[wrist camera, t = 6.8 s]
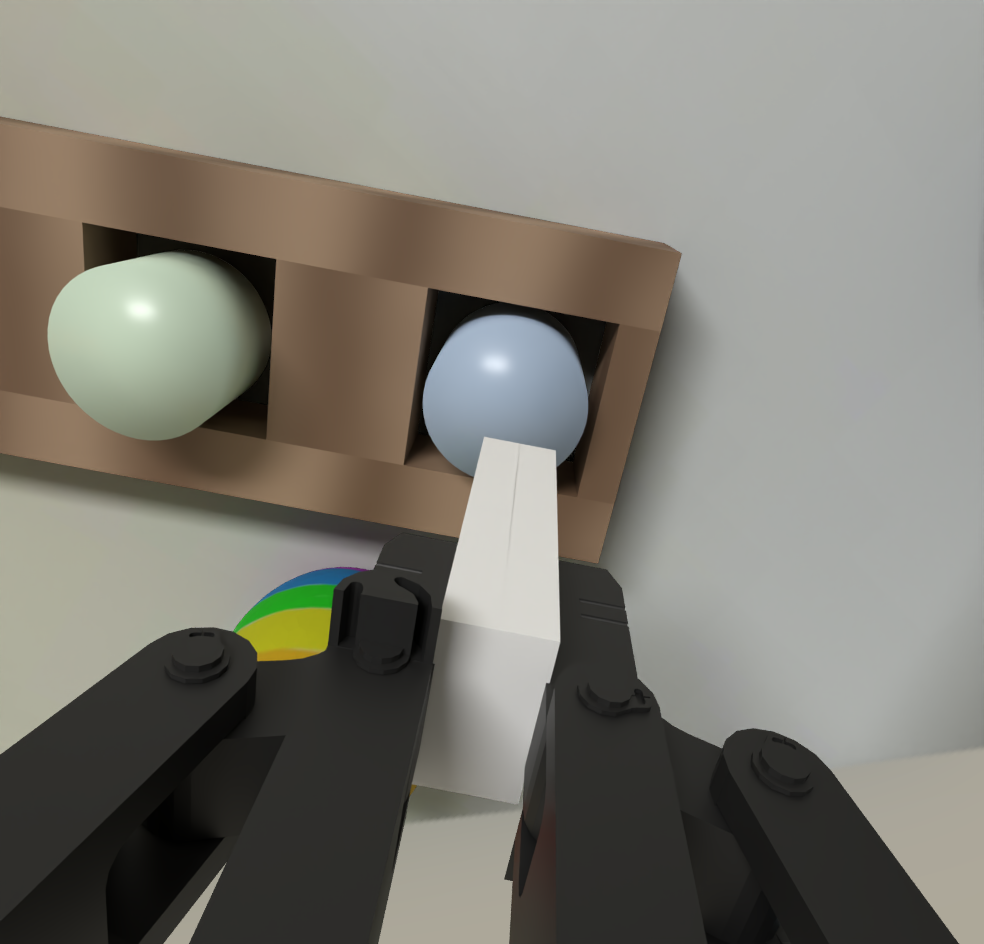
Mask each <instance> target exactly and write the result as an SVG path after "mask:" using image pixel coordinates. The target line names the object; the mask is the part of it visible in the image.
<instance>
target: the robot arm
mask: <svg viewBox="0 0 984 944" xmlns="http://www.w3.org/2000/svg"><path fill="white" fill-rule="evenodd" d="M627 624H628V621H627V615H626V611H625V604H624V598H623V592H622V588H621V587H620V585H619V584H618V583H617V582H616V580H615V579H614V578H613V577H612V575H611V574H610V573H609V572H608V570H606V569H600V568H595V567H590V566H585V565H579V564H574V563H569V562H564V561H559V560H558V522H557V480H556V450H551V449H546V448H541V447H535V446H530V445H525V444H520V443H514V442H509V441H504V440H499V439H494V438H488V437H484V439H483V443H482V448H481V452H480V456H479V460H478V464H477V468H476V472H475V476H474V480H473V484H472V488H471V492H470V496H469V500H468V504H467V508H466V512H465V516H464V520H463V524H462V529H461V533H460V537H459V541H458V543H453V542H448V541H443V540H437V539H432V538H427V537H422V536H417V535H411V534H406V533H402V534H400V535H399V536H397V537H396V538H394V539H393V540H391V541H390V542H388V543H387V544H385V545H384V547H383V549H382V551H381V554H380V556H379V558H378V561H377V564H376V565H375V567H374V570H369V571H361V572H357V573H355V574H353V575H350V576H348V577H346V578H343V579H342V580H341V582H340V583H339V584H338V585H337V586H336V587H335V588H334V590H333V600H332V610H331V619H330V629H329V638H328V646H327V648H326V650H325V651H323V652H321V653H319V654H316V655H313V656H309V657H305V658H301V659H292V660H276V661H257V652H256V650H255V649H254V647H253V646H252V644H251V643H250V641H249V640H247V639H245V638H243V637H242V636H240V635H238V634H237V633H235V632H232V631H227V630H223V629H218V628H214V627H213V628H189V629H185V630H181V631H177V632H173V633H169V634H167V635H165V636H163V637H161V638H159V639H157V640H156V641H154V642H152V643H150V644H149V645H147V646H146V647H145V648H143V649H142V650H141V651H139V652H138V653H136V654H135V655H134V656H132V657H131V658H130V659H128V660H127V661H126V662H124V663H123V664H122V665H120V666H119V667H118V668H116V669H115V670H114V671H112V672H111V673H110V674H108V675H107V676H106V677H104V678H103V679H101V680H100V681H99V682H97V683H96V684H95V685H93V686H92V687H91V688H89V689H88V690H87V691H85V692H84V693H83V694H81V695H80V696H79V697H77V698H76V699H75V700H73V701H72V702H71V703H69V704H68V705H67V706H65V707H64V708H62V709H61V710H60V711H58V712H57V713H56V714H54V715H53V716H52V717H50V718H49V719H48V720H46V721H45V722H44V723H42V724H41V725H40V726H38V727H37V728H36V729H34V730H33V731H32V732H30V733H29V734H27V735H26V736H25V737H23V738H22V739H21V740H19V741H18V742H17V743H15V744H14V745H13V746H11V747H10V748H9V749H7V750H6V751H5V752H3V753H2V754H1V755H0V944H163V943H164V942H165V941H166V939H167V938H168V937H169V936H170V934H171V933H172V932H173V930H174V929H175V928H176V927H177V925H178V924H179V923H180V921H181V920H182V919H183V918H184V916H185V915H186V914H187V912H188V911H189V910H190V908H191V907H192V906H193V905H194V903H195V902H196V901H197V900H198V898H199V897H200V895H201V894H202V893H203V892H204V891H205V889H206V888H207V887H208V885H209V884H210V883H211V882H212V880H213V879H214V878H215V876H216V875H217V874H218V873H219V871H220V870H221V869H222V867H223V866H224V865H225V863H226V862H227V863H226V865H225V867H224V870H223V872H222V874H221V876H220V878H219V880H218V882H217V885H216V887H215V889H214V891H213V893H212V895H211V898H210V900H209V902H208V904H207V906H206V908H205V910H204V913H203V915H202V917H201V919H200V921H199V923H198V926H197V928H196V930H195V932H194V934H193V936H192V938H191V941H190V943H189V944H378V942H379V936H380V932H381V928H382V923H383V918H384V914H385V910H386V905H387V900H388V896H389V891H390V887H391V882H392V877H393V873H394V869H395V864H396V859H397V854H398V850H399V846H400V841H401V837H402V832H403V827H404V823H405V818H406V813H407V807H408V802H409V796H410V790H411V786H412V784H413V785H418V786H423V787H428V788H433V789H439V790H444V791H449V792H454V793H460V794H465V795H470V796H475V797H480V798H486V799H491V800H496V801H501V802H507V803H512V804H517V805H518V804H519V800H520V796H521V792H522V788H523V784H524V793H523V810H522V814H521V818H520V822H519V825H518V829H517V833H516V837H515V841H514V845H513V848H512V852H511V856H510V860H509V863H508V867H507V871H506V875H505V880H510V881H513V886H512V904H511V922H510V941H509V944H959V943H958V942H957V941H956V939H955V938H954V937H953V935H952V934H951V933H950V931H949V930H948V928H947V927H946V926H945V924H944V923H943V922H942V920H941V919H940V918H939V916H938V915H937V913H936V912H935V911H934V910H933V908H932V907H931V905H930V904H929V903H928V901H927V900H926V899H925V897H924V896H923V895H922V893H921V892H920V890H919V889H918V888H917V887H916V885H915V884H914V882H913V881H912V880H911V879H910V877H909V876H908V874H907V873H906V872H905V870H904V869H903V867H902V866H901V865H900V863H899V862H898V861H897V859H896V858H895V857H894V855H893V854H892V853H891V851H890V850H889V848H888V847H887V846H886V844H885V843H884V842H883V841H882V839H881V838H880V836H879V835H878V834H877V832H876V831H875V830H874V828H873V827H872V826H871V824H870V823H869V821H868V820H867V819H866V818H865V816H864V815H863V813H862V812H861V811H860V809H859V808H858V807H857V805H856V804H855V803H854V801H853V800H852V798H851V797H850V796H849V794H848V793H847V792H846V790H845V789H844V788H843V786H842V785H841V784H840V782H839V781H838V779H837V778H836V777H835V775H834V774H833V773H832V771H831V770H830V769H829V768H828V767H827V766H826V765H825V764H824V763H823V762H822V761H821V760H820V759H819V758H818V757H817V756H816V755H815V754H814V753H813V752H811V751H810V750H808V749H807V748H805V747H804V746H802V745H801V744H799V743H798V742H796V741H795V740H792V739H790V738H787V737H785V736H783V735H780V734H778V733H775V732H772V731H766V730H760V729H754V728H753V729H746V730H740V731H736V732H735V733H734V734H732V735H731V736H730V737H729V738H727V739H726V741H725V743H724V746H723V748H720V747H717V746H715V745H713V744H710V743H708V742H706V741H703V740H701V739H699V738H696V737H694V736H692V735H689V734H687V733H685V732H684V731H682V730H680V729H678V728H676V727H674V726H672V725H671V724H670V723H668V722H667V721H666V720H664V719H663V718H662V717H661V713H660V708H659V705H658V703H657V701H656V699H655V697H654V695H653V693H652V692H651V691H650V690H649V689H648V688H647V687H646V686H645V685H644V684H643V683H642V682H641V681H640V680H639V679H638V678H637V672H636V667H635V661H634V655H633V649H632V644H631V638H630V632H629V627H628V626H627Z"/></svg>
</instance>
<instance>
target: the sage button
mask: <svg viewBox="0 0 984 944" xmlns="http://www.w3.org/2000/svg"><path fill="white" fill-rule="evenodd" d="M271 343H272V338H271V326H270V321H269V317H268V313H267V311H266V308H265V306H264V303H263V301H262V300H261V298H260V296H259V294H258V292H257V291H256V290H255V288H254V287H253V285H252V284H251V283H250V282H249V281H248V280H247V278H246V277H245V276H244V275H243V274H241V273H240V272H239V271H238V270H237V269H236V268H234V267H233V266H232V265H230V264H229V263H227V262H225V261H224V260H222V259H220V258H218V257H216V256H213V255H211V254H208V253H204V252H200V251H196V250H172V251H166V252H162V253H157V254H153V255H148V256H144V257H139V258H135V259H130V260H125V261H121V262H116V263H112V264H107V265H103V266H98V267H95V268H92V269H89V270H87V271H85V272H83V273H81V274H79V275H78V276H76V277H75V278H74V279H72V280H71V281H70V282H69V283H68V284H67V285H66V286H65V287H64V288H63V289H62V291H61V292H60V293H59V295H58V296H57V298H56V300H55V302H54V304H53V307H52V310H51V313H50V316H49V322H48V346H49V353H50V357H51V360H52V364H53V366H54V369H55V371H56V374H57V376H58V378H59V380H60V382H61V384H62V385H63V387H64V388H65V390H66V391H67V393H68V394H69V396H70V397H71V398H72V399H73V400H74V402H75V403H76V404H77V405H78V406H79V407H80V408H81V409H82V410H83V411H84V412H85V413H86V414H88V415H89V416H90V417H91V418H93V419H94V420H95V421H97V422H98V423H100V424H101V425H103V426H105V427H106V428H108V429H110V430H112V431H114V432H117V433H119V434H122V435H125V436H128V437H132V438H136V439H142V440H167V439H172V438H176V437H179V436H182V435H184V434H186V433H189V432H191V431H192V430H194V429H195V428H197V427H198V426H200V425H201V424H202V423H204V422H205V421H206V420H208V419H209V418H210V417H212V416H213V415H214V414H216V413H217V412H218V411H220V410H221V409H222V408H224V407H225V406H226V405H228V404H229V403H230V402H232V401H233V400H234V399H236V398H237V397H238V396H239V395H241V394H242V393H243V392H245V391H246V390H247V389H249V388H250V387H251V386H252V385H253V384H254V383H255V382H256V381H257V380H258V379H259V377H260V376H261V374H262V373H263V371H264V369H265V367H266V365H267V362H268V359H269V355H270V351H271Z"/></svg>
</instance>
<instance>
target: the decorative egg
mask: <svg viewBox="0 0 984 944" xmlns="http://www.w3.org/2000/svg"><path fill="white" fill-rule="evenodd" d="M361 571H369V570H367V569H360V568H352V567H335V568H326V569H321V570H316V571H312V572H309V573H306V574H303V575H301V576H298V577H296V578H294V579H292V580H290V581H288V582H285V583H284V584H282V585H281V586H279V587H277V588H276V589H274V590H273V591H271V592H270V593H269V594H267V595H266V596H265V597H263V598H262V599H261V600H260V601H259V602H258V603H257V604H256V605H255V606H254V607H253V608H252V609H251V610H250V611H249V612H248V613H247V614H246V615H245V616H244V617H243V619H242V620H241V621H240V622H239V624H238V625H237V626H236V628H235V629H234V631H233V632H235V633H237V634H238V635H240V636H242V637H243V638H245V639H247V640H249V641H250V643H251V644H252V646H253V647H254V649H255V650H256V652H257V661H276V660H292V659H301V658H305V657H309V656H313V655H316V654H319V653H321V652H323V651H325V650H326V648H327V646H328V638H329V629H330V619H331V610H332V600H333V590H334V588H335V587H336V586H337V585H338V584H339V583H340V582H341V580H342V579H343V578H346V577H348V576H350V575H353V574H355V573H357V572H361ZM416 787H417V785H413V784H412V786H411V790H410V795H411V794H412V792H413V791H414V789H415V788H416Z"/></svg>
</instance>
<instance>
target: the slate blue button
mask: <svg viewBox="0 0 984 944" xmlns="http://www.w3.org/2000/svg"><path fill="white" fill-rule="evenodd" d="M423 414H424V419H425V424H426V427H427V430H428V432H429V435H430V437H431V439H432V441H433V443H434V444H435V446H436V447H437V449H438V450H439V451H440V452H441V454H442V455H443V456H444V457H445V458H446V459H447V460H448V461H449V462H450V463H451V464H453V465H454V466H455V467H457V468H458V469H459V470H461V471H463V472H464V473H466V474H468V475H470V476H472V477H474V476H475V472H476V468H477V464H478V460H479V456H480V452H481V448H482V443H483V439H484V437H488V438H494V439H499V440H504V441H509V442H514V443H520V444H525V445H530V446H535V447H541V448H546V449H551V450H556V467H557V466H559V465H560V464H561V463H562V462H563V461H564V460H565V459H567V457H568V456H569V455H570V454H571V453H572V451H573V450H574V449H575V447H576V446H577V444H578V442H579V440H580V438H581V436H582V434H583V432H584V428H585V425H586V421H587V415H588V395H587V389H586V384H585V379H584V375H583V370H582V366H581V361H580V357H579V353H578V350H577V347H576V345H575V342H574V341H573V339H572V337H571V335H570V334H569V332H568V331H567V330H566V328H565V327H564V326H563V325H562V324H561V323H560V322H559V321H558V320H557V319H555V318H554V317H553V316H552V315H550V314H549V313H547V312H545V311H543V310H542V309H538V308H533V307H527V306H522V305H517V304H511V303H506V302H503V303H496V304H492V305H488V306H485V307H483V308H480V309H478V310H476V311H474V312H473V313H471V314H469V315H468V316H467V317H465V318H464V319H463V320H462V321H461V322H460V323H459V324H458V325H457V326H456V327H455V328H454V329H453V331H452V332H451V334H450V335H449V337H448V338H447V340H446V342H445V344H444V346H443V348H442V349H441V351H440V353H439V355H438V357H437V359H436V361H435V362H434V364H433V366H432V368H431V370H430V372H429V374H428V377H427V380H426V383H425V387H424V392H423Z"/></svg>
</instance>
